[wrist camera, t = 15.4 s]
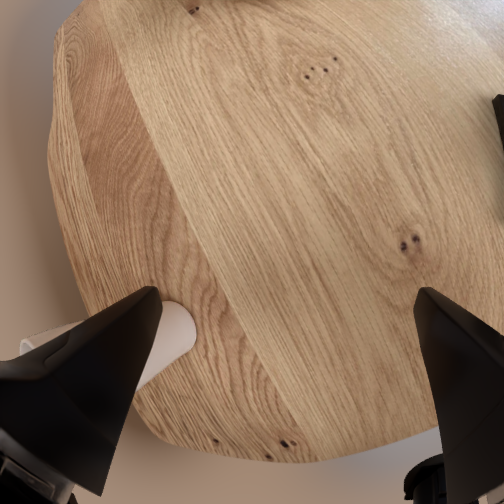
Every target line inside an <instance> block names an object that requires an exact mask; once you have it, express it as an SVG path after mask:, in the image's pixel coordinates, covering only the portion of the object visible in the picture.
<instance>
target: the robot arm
mask: <svg viewBox="0 0 504 504" xmlns="http://www.w3.org/2000/svg"><path fill="white" fill-rule="evenodd" d="M162 312H163V305H162V301H161V298H160V294H159V291H158V289H157V287H155V286H145V287H143V288H141V289H139V290H138V291H136V292H134V293H132V294H130V295H129V296H127V297H125V298H123V299H122V300H120V301H118V302H116V303H115V304H113V305H111V306H109V307H108V308H106V309H104V310H102V311H101V312H99V313H97V314H95V315H94V316H92V317H90V318H89V319H87V320H85V321H83V322H82V323H80V324H78V325H76V326H75V327H73V328H71V330H68V331H66V332H64V333H63V334H61V335H59V336H57V337H56V338H54V339H52V340H50V341H48V342H46V343H45V344H43V345H41V346H39V347H37V348H35V349H33V350H31V351H29V352H27V353H25V354H23V355H21V356H19V357H17V358H15V359H12V360H8V361H0V504H78V503H77V501H76V498H75V496H74V494H73V493H72V490H73V488H74V485H75V484H76V485H78V486H80V487H82V488H84V489H86V490H88V491H89V492H91V493H94V494H96V495H98V496H100V497H101V495H102V492H103V489H104V485H105V482H106V479H107V475H108V472H109V469H110V465H111V462H112V459H113V456H114V453H115V450H116V447H115V446H117V443H118V440H119V437H120V434H121V431H122V428H123V425H124V422H125V419H126V416H127V414H128V411H129V408H130V405H131V402H132V400H133V397H134V394H135V391H136V389H137V386H138V383H139V381H140V378H141V375H142V373H143V370H144V368H145V365H146V362H147V360H148V357H149V355H150V352H151V350H152V347H153V344H154V340H155V337H156V333H157V330H158V326H159V322H160V319H161V316H162ZM413 313H414V318H415V323H416V328H417V333H418V338H419V343H420V348H421V352H422V356H423V360H424V363H425V367H426V371H427V374H428V378H429V382H430V386H431V391H432V395H433V399H434V404H435V409H436V414H437V419H438V424H439V430H440V436H441V442H442V449H443V456H444V464H441V465H431V466H423V467H421V468H420V469H419V471H418V472H417V474H416V476H415V478H414V480H413V482H412V484H411V486H410V487H409V489H408V491H407V493H406V494H405V496H404V500H413V501H414V502H413V504H479V501H478V499H479V498H481V497H483V496H485V495H487V501H488V504H504V336H503V335H500V333H499V332H497V331H496V330H495V329H493V328H492V327H490V326H489V325H487V324H486V323H485V322H483V321H482V320H480V319H479V318H477V317H476V316H474V315H473V314H471V313H470V312H469V311H467V310H466V309H464V308H463V307H461V306H460V305H458V304H457V303H455V302H453V301H452V300H450V299H449V298H447V297H446V296H444V295H443V294H441V293H440V292H438V291H436V290H435V289H433V288H432V287H421V288H420V289H419V291H418V294H417V298H416V301H415V304H414V308H413Z"/></svg>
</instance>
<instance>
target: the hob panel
mask: <svg viewBox="0 0 504 504" xmlns="http://www.w3.org/2000/svg"><path fill="white" fill-rule="evenodd" d="M492 102H493V105H494V109H495V113H496V117H497V121H498V125H499V129H500V134H501V139H502V144H503V149H504V95H501V94H498V95H497V96H496V97H495V98H494V99H493V101H492Z"/></svg>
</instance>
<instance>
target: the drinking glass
mask: <svg viewBox="0 0 504 504" xmlns="http://www.w3.org/2000/svg"><path fill="white" fill-rule="evenodd" d="M162 305H163V312H162V316H161V319H160V322H159V326H158V330H157V333H156V337H155V340H154V344H153V347H152V350H151V352H150V355H149V357H148V360H147V362H146V365H145V368H144V370H143V373H142V375H141V378H140V381H139V383H138V386H137V389H136V391H135V392H137V391H138V390H139V389H140V388H142V387H143V386H144V385H145V384H147V383H148V382H149V381H150V380H152V379H153V378H154V377H155V376H157V375H158V374H159V373H160V372H162V371H163V370H164V369H165V368H167V367H168V366H169V365H170V364H172V363H173V362H174V361H175V360H177V359H178V358H179V357H181V356H183V355H184V354H186V353H187V352H188V351H190V350H191V349H192V347H193V346H194V344H195V341H196V335H197V332H196V326H195V323H194V320H193V318H192V316H191V315H190V313H189V312H188V311H187V310H186V309H185V308H184V307H183V306H182V305H180V304H178V303H176V302H173V301H163V302H162ZM83 321H85V320H83ZM83 321H77V322H73V323H69V324H65V325H62V326H58V327H55V328H52V329H49V330H46V331H43V332H40V333H37V334H35V335H33V336H29V337H27V338H24V339H22V341H21V343H20V356H21V355H23V354H25V353H27V352H29V351H31V350H33V349H35V348H37V347H39V346H41V345H43V344H45V343H46V342H48V341H50V340H52V339H54V338H56V337H57V336H59V335H61V334H63V333H64V332H66V331H68V330H71V328H73V327H75V326H76V325H78V324H80V323H82V322H83Z"/></svg>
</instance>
